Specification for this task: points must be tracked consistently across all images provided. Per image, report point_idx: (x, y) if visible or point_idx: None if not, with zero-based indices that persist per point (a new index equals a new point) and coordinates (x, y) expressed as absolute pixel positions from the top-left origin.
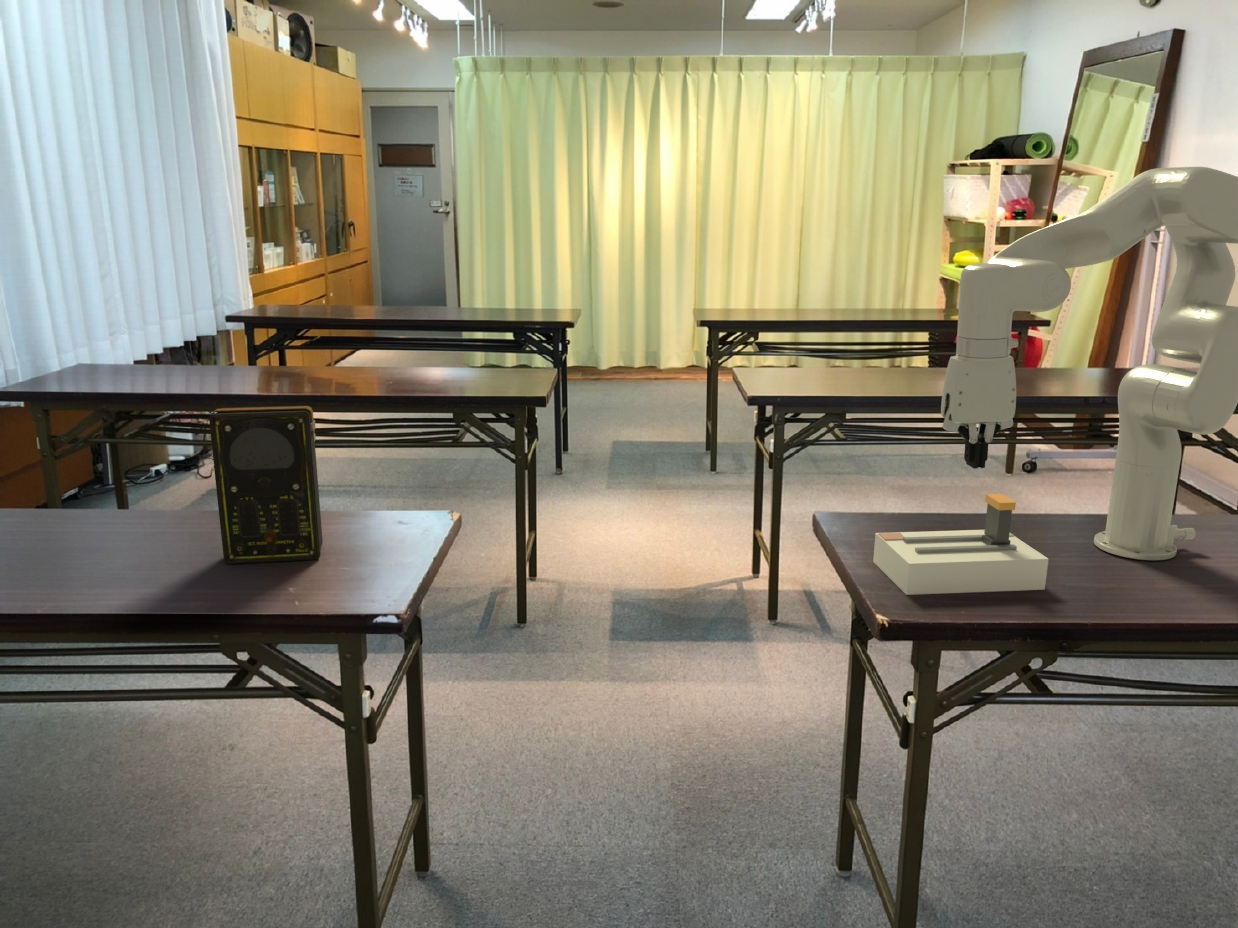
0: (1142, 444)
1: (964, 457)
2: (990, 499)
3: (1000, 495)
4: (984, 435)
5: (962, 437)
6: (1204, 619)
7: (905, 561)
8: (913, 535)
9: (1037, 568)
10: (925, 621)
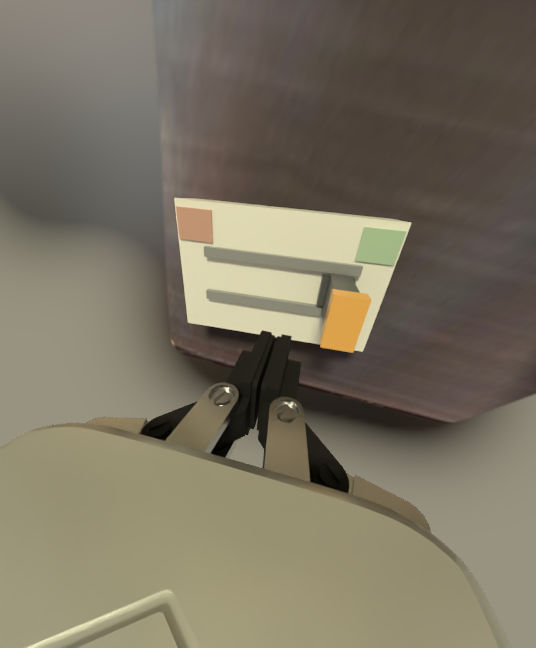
0: None
1: (242, 352)
2: (328, 313)
3: (359, 309)
4: (263, 458)
5: (211, 387)
6: (442, 414)
7: (187, 313)
8: (231, 223)
9: None
10: (202, 355)
